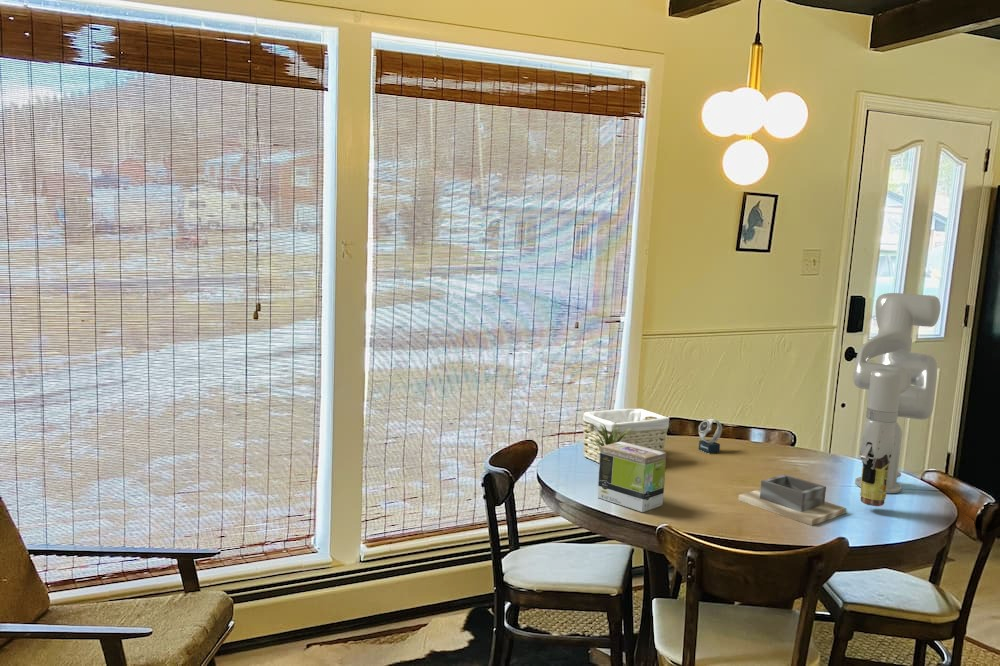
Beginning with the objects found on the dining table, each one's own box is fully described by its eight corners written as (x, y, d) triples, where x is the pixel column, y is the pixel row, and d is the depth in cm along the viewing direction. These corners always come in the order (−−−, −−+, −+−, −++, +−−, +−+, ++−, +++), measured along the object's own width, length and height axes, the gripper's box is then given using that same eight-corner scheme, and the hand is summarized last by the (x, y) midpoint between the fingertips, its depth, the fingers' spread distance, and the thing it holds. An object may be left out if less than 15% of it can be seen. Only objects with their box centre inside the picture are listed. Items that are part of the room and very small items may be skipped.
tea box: (663, 505, 215) (668, 451, 213) (642, 513, 208) (646, 458, 206) (618, 490, 225) (621, 439, 223) (595, 498, 218) (599, 445, 216)
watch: (693, 449, 272) (696, 418, 271) (713, 448, 275) (716, 417, 274) (703, 454, 267) (706, 422, 266) (723, 452, 270) (726, 421, 269)
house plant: (575, 477, 235) (578, 423, 233) (587, 465, 248) (590, 413, 246) (623, 485, 230) (627, 429, 228) (633, 472, 243) (637, 419, 241)
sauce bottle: (887, 508, 215) (895, 436, 211) (862, 506, 216) (870, 434, 213) (881, 499, 221) (888, 429, 218) (856, 497, 222) (864, 427, 219)
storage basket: (635, 449, 270) (638, 406, 268) (668, 462, 256) (672, 417, 254) (577, 456, 258) (580, 411, 256) (609, 471, 244) (612, 423, 242)
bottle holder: (773, 490, 233) (775, 468, 232) (845, 513, 216) (848, 490, 215) (738, 500, 222) (740, 477, 221) (811, 525, 205) (814, 501, 204)
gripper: (883, 408, 223) (876, 470, 226) (851, 416, 212) (844, 482, 215) (911, 414, 217) (903, 478, 220) (879, 423, 206) (872, 490, 209)
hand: (874, 479), depth 217 cm, fingers closed on sauce bottle, 6 cm apart
